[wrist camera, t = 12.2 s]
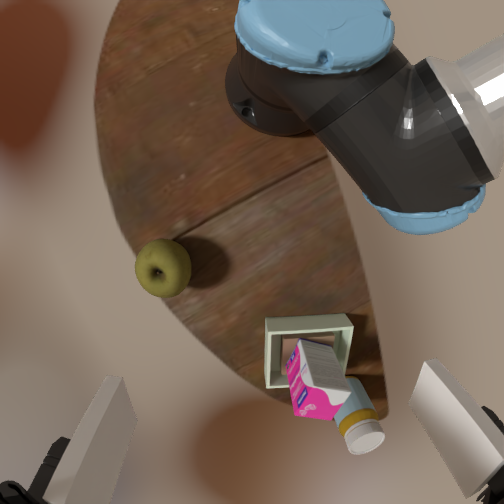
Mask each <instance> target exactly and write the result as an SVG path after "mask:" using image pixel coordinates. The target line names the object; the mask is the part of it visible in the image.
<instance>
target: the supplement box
mask: <svg viewBox="0 0 504 504" xmlns="http://www.w3.org/2000/svg"><path fill="white" fill-rule="evenodd" d="M285 366H286V371H287V377H288V382H289V387H290V392H291V398H292V403H293V409H294V414H295V415H296V416H302V417H310V418H317V419H325V420H332V418H333V417H334V416H335V414H336V413H337V412H338V410H339V409H340V408H341V406H342V405H343V404H344V402H345V401H346V399H347V398H348V397H349V395H350V394H351V389H350V387H349V385H348V382H347V380H346V378H345V376H344V373H343V371H342V369H341V367H340V364H339V362H338V360H337V358H336V356H335V353H334V351H333V349H332V347H331V345H327V344H323V343H319V342H315V341H311V340H308V339H304V338H299V340H298V342H297V345H296V347H295V349H294V351H293V353H292V355H291V357H290V358H289V360H288V362H287V364H286V365H285Z"/></svg>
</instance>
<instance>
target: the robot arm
mask: <svg viewBox="0 0 504 504" xmlns="http://www.w3.org/2000/svg"><path fill="white" fill-rule="evenodd" d="M390 15H391V12H390V10H389V8H388V6H387V5H386V3H385V2H384V1H383V0H240V1H239V6H238V12H237V15H236V17H235V19H236V21H235V32H236V40H237V53H236V54H235V56H234V57H233V58H232V60H231V62H230V64H229V66H228V69H227V72H226V77H225V87H226V94H227V98H228V101H229V104H230V106H231V108H232V109H233V111H234V112H235V114H236V115H237V116H238V117H239V118H240V119H241V120H242V121H243V122H244V123H245V124H247V125H248V126H250V127H251V128H253V129H255V130H257V131H259V132H262V133H265V134H268V135H273V136H291V135H296V134H300V133H303V132H305V131H307V130H309V129H311V130H312V131H313V133H314V134H315V135H316V136H317V138H318V139H319V140H320V141H321V142H322V143H323V144H324V145H325V147H326V148H327V149H328V150H329V151H330V152H331V153H332V155H333V156H334V157H335V158H336V159H337V161H338V162H339V163H340V164H341V165H342V166H343V168H344V169H345V170H346V171H347V173H348V174H349V175H350V176H351V177H352V178H353V180H354V181H355V182H356V184H357V185H358V186H359V187H360V189H361V190H362V192H363V195H364V197H365V199H366V200H367V201H368V202H369V204H371V205H372V206H373V207H375V208H376V209H377V211H378V212H379V213H380V214H381V216H382V217H383V218H384V219H385V220H386V222H387V223H388V224H390V225H391V226H393V227H394V228H396V229H397V230H399V231H401V232H404V233H408V234H415V235H427V234H433V233H439V232H443V231H446V230H449V229H451V228H453V227H455V226H457V225H459V224H461V223H463V222H464V221H466V220H467V219H468V213H474V212H476V211H477V209H478V208H479V207H480V206H481V204H482V202H483V200H484V197H485V187H486V183H487V182H490V181H492V180H494V179H497V178H498V177H499V174H500V171H501V167H502V164H503V161H504V34H502V35H500V36H499V37H497V38H495V39H493V40H491V41H490V42H488V43H486V44H484V45H483V46H481V47H479V48H477V49H476V50H474V51H472V52H471V53H469V54H467V55H466V56H464V57H462V58H461V59H459V60H457V61H453V62H449V61H446V60H442V59H438V58H435V57H431V56H429V57H427V58H425V59H423V60H422V61H420V62H419V63H417V64H416V65H411V64H410V63H409V61H408V60H407V59H406V58H405V56H404V55H403V54H402V53H401V52H400V51H399V50H398V48H397V47H396V46H395V45H394V44H393V40H394V39H393V38H394V33H395V26H394V22H393V21H392V20H390ZM408 404H409V406H410V407H411V409H412V410H413V412H414V414H415V415H416V417H417V418H418V420H419V421H420V423H421V425H422V426H423V428H424V429H425V431H426V432H427V434H428V435H429V437H430V439H431V440H432V442H433V444H434V445H435V447H436V449H437V450H438V452H439V453H440V455H441V457H442V458H443V460H444V462H445V463H446V465H447V467H448V468H449V470H450V472H451V473H452V475H453V477H454V479H455V480H456V482H457V484H458V486H459V487H460V489H461V491H462V493H463V494H464V496H465V498H466V499H467V498H468V497H470V496H472V495H473V494H475V493H477V492H478V491H480V490H481V488H483V487H484V486H485V484H488V485H489V486H488V488H486V489H485V490H484V491H483V492H482V493H481V494H480V495H479V496H478V498H477V500H476V501H479V500H480V499H481V498H482V497H483V496H484V495H485V497H484V498H483V499H482V500H481V502H483V504H504V425H503V423H502V421H501V420H499V418H498V417H497V416H496V414H495V413H494V412H493V411H492V410H490V409H488V408H487V407H485V406H483V407H480V406H479V405H478V404H477V402H476V401H475V400H474V399H473V398H472V397H471V395H470V394H469V393H468V392H467V391H466V390H465V389H464V388H463V387H462V385H461V384H460V383H459V382H458V381H457V380H456V379H455V378H454V376H453V375H452V374H451V373H450V372H449V371H448V370H447V369H446V368H445V367H444V366H443V365H442V363H441V362H440V361H439V360H438V359H437V358H435V359H431V360H427V361H424V364H423V366H422V369H421V372H420V375H419V378H418V381H417V383H416V386H415V388H414V391H413V393H412V396H411V398H410V401H409V403H408ZM136 424H137V418H136V415H135V412H134V410H133V407H132V404H131V401H130V398H129V395H128V393H127V389H126V387H125V383H124V380H123V377H118V376H110V375H107V376H106V377H105V379H104V381H103V383H102V384H101V386H100V388H99V389H98V391H97V393H96V395H95V396H94V398H93V400H92V402H91V403H90V405H89V407H88V409H87V411H86V412H85V414H84V416H83V418H82V420H81V422H80V423H79V426H78V427H77V429H76V431H75V433H74V435H73V437H72V439H67V438H64V437H60V438H59V439H58V440H57V441H56V442H54V443H53V444H52V446H51V448H50V450H49V451H48V453H47V456H46V457H45V459H44V461H43V464H41V466H40V468H39V470H38V472H37V474H36V476H35V478H34V480H33V482H32V484H31V486H30V488H29V489H28V491H26V490H25V489H24V488H23V487H22V486H21V485H20V484H19V483H16V482H15V481H5V482H2V483H1V484H0V504H110V502H111V499H112V495H113V492H114V489H115V486H116V482H117V479H118V476H119V473H120V470H121V467H122V464H123V461H124V458H125V455H126V452H127V449H128V446H129V443H130V441H131V438H132V435H133V432H134V429H135V426H136Z"/></svg>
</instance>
